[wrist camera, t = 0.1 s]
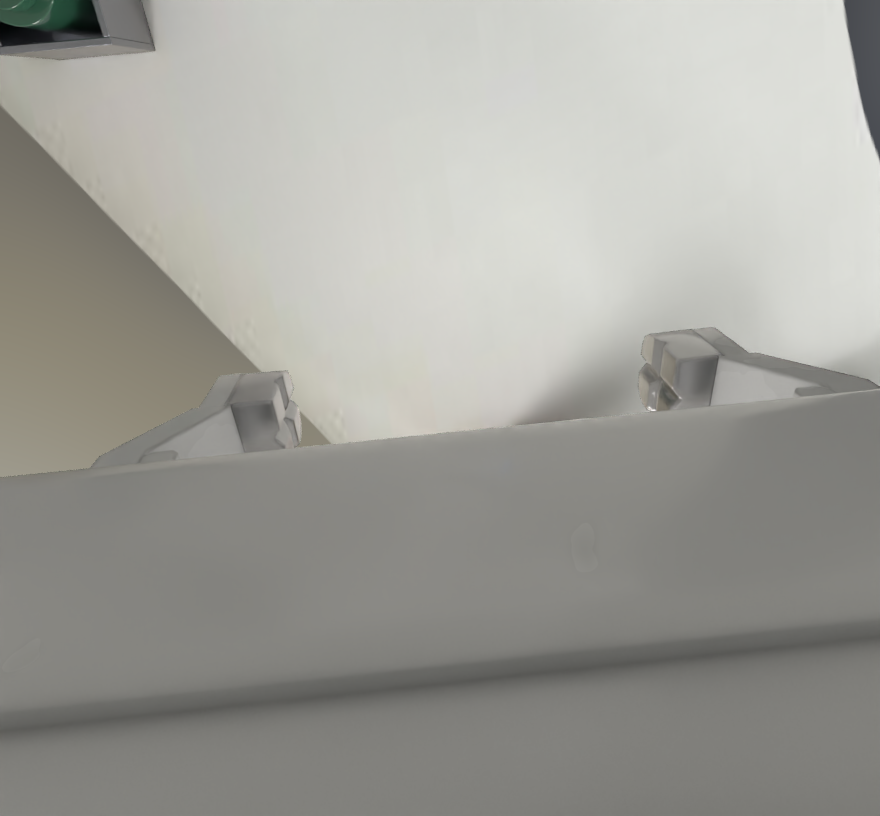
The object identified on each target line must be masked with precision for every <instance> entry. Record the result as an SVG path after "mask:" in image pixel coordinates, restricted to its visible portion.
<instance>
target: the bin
mask: <svg viewBox="0 0 880 816" xmlns="http://www.w3.org/2000/svg"><path fill="white" fill-rule="evenodd" d="M92 2H93V5H94V9H95V12H96V15H97V18H98V21H99V24H100V28H101V31H102V34H103V37H101V38H85V37H79V36H73V35H67V34H61V33H55V32H49V31H42V30H36V29H30V28H24V27H18V26H12V25H9V24H6V23H3V22H1V21H0V55H7V56H19V57H31V58H42V59H54V60H64V59H75V58H86V57H97V56H108V55H119V54H130V53H141V52H152V51H155V48H154V45H153V41H152V38H151V34H150V30H149V27H148V23H147V20H146V16H145V13H144V9H143V5H142V2H141V0H92Z"/></svg>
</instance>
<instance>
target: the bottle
mask: <svg viewBox="0 0 880 816" xmlns="http://www.w3.org/2000/svg"><path fill="white" fill-rule="evenodd" d="M0 21H1V22H3V23H6V24H9V25H12V26H18V27H24V28H30V29H36V30H42V31H49V32H55V33H61V34H67V35H73V36H79V37H85V38H101V37H103V34H102V31H101V28H100V24H99V21H98V18H97V15H96V12H95V9H94V5H93V2H92V0H0Z"/></svg>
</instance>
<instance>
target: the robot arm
mask: <svg viewBox="0 0 880 816" xmlns="http://www.w3.org/2000/svg"><path fill="white" fill-rule="evenodd" d="M641 355H642V356H643V358H644V359H645V361H646V362H647V363H646V364H645V365H644V367H643V368H642V369H641V370H640V372H639V380H638V388H639V395H640V398H641V401H642V404H643V405H644V406H645V408H646V409H647V410H649V411H651V412H645V413H635V414H625V415H615V416H605V417H596V418H586V419H576V420H566V421H556V422H546V423H536V424H526V425H516V426H506V427H496V428H486V429H477V430H467V431H457V432H447V433H437V434H427V435H417V436H407V437H397V438H387V439H377V440H368V441H358V442H348V443H338V444H329V445H319V446H308V447H299V448H295V447H297V446H298V445H299V444H300V440H301V418H300V412H299V408H298V405H296V404H295V403H294V402H293V401H292V400H291V396H292V393H293V390H294V387H293V383H292V379H291V375H290V374H289V372H288V370H285V371H273V372H261V373H248V374H242V373H240V374H231V375H223V376H219V377H218V379H217V380H216V382H215V383H214V385H213V386H212V388H211V389H210V391H209V393H208V394H207V396H206V397H205V399H204V400H203V402H202V403H201V405H200V407H199V408H194V409H190V410H189V411H186V412H185V413H182V414H181V415H179V416H177V417H175V418H173V419H171V420H169V421H167V422H165V423H163V424H161V425H159V426H157V427H155V428H153V429H151V430H150V431H148V432H146V433H144V434H142V435H140V436H138V437H136V438H134V439H132V440H130V441H128V442H126V443H124V444H122V445H121V446H118V447H116V448H115V449H113V450H111V451H109V452H107V453H105V454H103V455H101V456H99V457H98V459H97V460H96V461H95V462H94V463H93V465H92V466H91V467H90V468H89V469H79V470H68V471H59V472H48V473H38V474H29V475H18V476H8V477H0V816H880V387H879V386H878V385H876V384H875V383H873V382H871V381H870V380H868V379H864V378H859V377H855V376H851V375H847V374H843V373H839V372H835V371H830V370H826V369H822V368H818V367H814V366H810V365H805V364H801V363H797V362H793V361H789V360H785V359H781V358H776V357H772V356H768V355H764V354H760V353H748V352H747V351H746V350H744V349H743V348H742V347H740V346H739V345H738V344H736V343H735V342H734V341H732V340H731V339H730V338H728V337H727V336H726V335H724V334H723V333H722V332H720V331H719V330H718V329H716V328H714V327H708V328H700V329H693V330H692V329H687V330H679V331H671V332H662V333H654V334H649V335H647V336H645V337H644V340H643V343H642V350H641Z"/></svg>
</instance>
